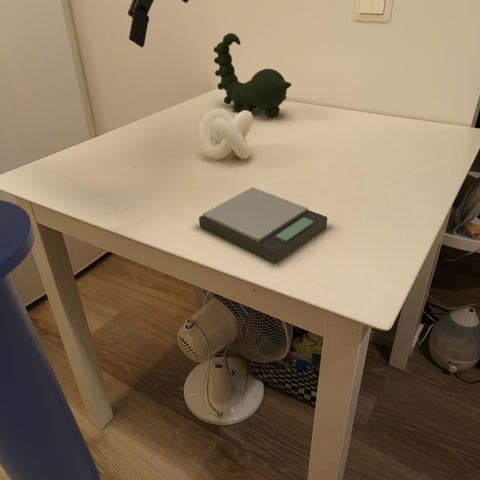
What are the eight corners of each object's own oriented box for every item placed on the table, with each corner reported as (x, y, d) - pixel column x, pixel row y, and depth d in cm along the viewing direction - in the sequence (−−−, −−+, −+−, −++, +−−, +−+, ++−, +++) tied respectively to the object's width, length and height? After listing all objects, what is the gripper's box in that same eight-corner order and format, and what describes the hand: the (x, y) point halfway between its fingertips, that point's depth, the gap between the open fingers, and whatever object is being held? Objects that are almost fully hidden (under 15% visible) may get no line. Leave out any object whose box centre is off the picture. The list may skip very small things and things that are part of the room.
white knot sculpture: (228, 140, 104) (225, 99, 98) (269, 151, 98) (269, 109, 92) (193, 156, 97) (189, 114, 92) (236, 169, 91) (234, 125, 86)
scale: (199, 227, 74) (198, 213, 72) (252, 198, 81) (252, 185, 80) (275, 264, 65) (275, 249, 64) (326, 227, 72) (327, 213, 71)
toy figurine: (212, 113, 124) (279, 125, 108) (202, 36, 114) (274, 36, 98) (237, 105, 129) (304, 115, 113) (229, 30, 119) (302, 29, 103)
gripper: (234, -113, 74) (221, -10, 69) (153, -18, 93) (138, 69, 87) (197, -151, 70) (181, -45, 64) (120, -44, 88) (102, 46, 82)
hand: (156, 21), depth 76 cm, fingers open, 13 cm apart
